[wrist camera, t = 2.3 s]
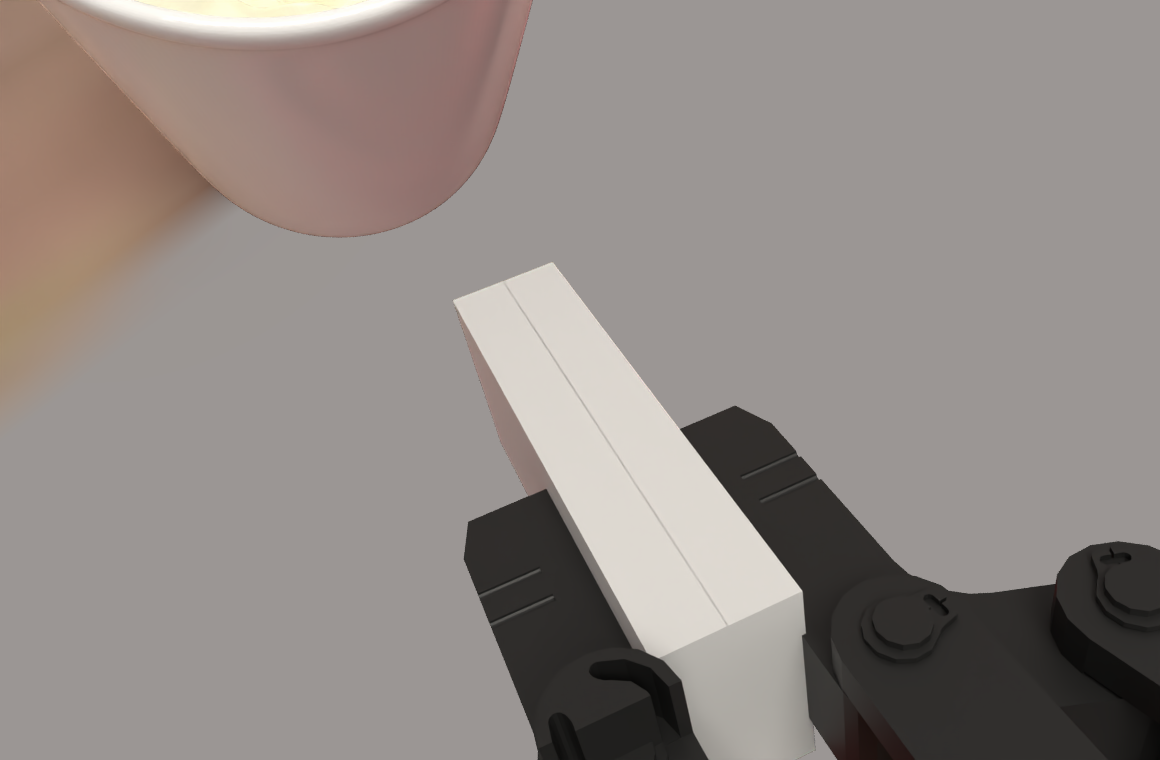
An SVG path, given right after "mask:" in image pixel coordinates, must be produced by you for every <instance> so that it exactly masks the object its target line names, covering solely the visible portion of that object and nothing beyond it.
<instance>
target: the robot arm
mask: <svg viewBox="0 0 1160 760" xmlns="http://www.w3.org/2000/svg"><path fill="white" fill-rule="evenodd" d="M453 303H454V306H455V309H456V312H457V314H458V318H459V321H460V323H461V326H462V329H463V332H464V335H465V338H466V341H467V344H468V347H469V350H470V353H471V356H472V359H473V362H474V365H475V368H476V371H477V373H478V377H479V379H480V383H481V386H482V388H483V391H484V394H485V397H486V400H487V403H488V406H489V409H490V412H491V415H492V418H493V420H494V424H495V427H496V430H497V433H498V436H499V439H500V442H501V444H502V446H503V448H504V450H505V452H506V454H507V456H508V458H509V460H510V461H511V464H512V465H513V467H514V469H515V471H516V473H517V475H518V477H519V479H520V481H521V483H522V485H523V487H524V489H525V491H526V493H527V495H528V497H526V498H523V499H521V500H518V501H516V502H514V503H511V504H509V505H507V506H504V507H502V508H500V509H498V510H495V511H493V512H490V513H488V514H486V515H483V516H481V517H479V518H476V519H474V520H472V521H469V522H468V529H467V537H466V545H465V553H464V561H465V563H466V566H467V568H468V571H469V573H470V576H471V578H472V581H473V583H474V586H475V588H476V591H477V593H478V596H479V598H480V601H481V603H482V605H483V608H484V611H485V613H486V616H487V618H488V621H489V623H490V626H491V628H492V630H493V633H494V635H495V638H496V641H497V643H498V646H499V648H500V650H501V653H502V656H503V658H504V660H505V663H506V665H507V668H508V670H509V673H510V675H511V678H512V680H513V683H514V685H515V688H516V690H517V693H518V695H519V698H520V700H521V703H522V705H523V708H524V710H525V713H526V715H527V718H528V720H529V723H530V725H531V728H532V730H533V733H534V737H535V741H536V745H537V749H538V760H797V759H799V758H801V757H803V756H805V755H807V754H809V753H811V752H813V751H815V738H814V726H815V727H816V729H817V730H818V732H819V733H820V735H821V736H822V737H823V739H824V740H825V742H826V744H827V745H828V746H829V748H830V749H831V751H832V752H833V754H834V755H835V757H836V758H837V760H1160V550H1158V549H1156V548H1153V547H1151V546H1148V545H1140V544H1133V543H1126V542H1119V541H1118V542H1110V543H1104V544H1096V545H1090V546H1088V547H1086V548H1085V549H1083V550H1081V551H1079V552H1077V553H1075V554H1073V555H1072V556H1070V557H1069V558H1068V559H1067V561H1066V562H1065V564H1064V566H1063V567H1062V568H1061V570H1060V571H1059V573H1058V574H1057V579H1056V584H1052V585H1045V586H1038V587H1030V588H1024V589H1016V590H1009V591H1002V592H995V593H978V594H967V593H959V592H952V591H948V590H946V589H945V588H944V587H943V586H941V585H939V584H936V583H933V582H930V581H927V580H925V579H922V578H919V577H916V576H912V575H910V574H908V573H907V572H906V571H905V570H904V569H902V568H901V567H900V566H899V565H898V564H897V563H896V562H894V561H893V560H892V559H891V557H890V556H889V555H888V554H887V553H886V552H885V551H884V549H883V548H882V547H881V546H880V545H879V544H878V543H877V542H876V540H875V539H874V538H873V537H872V536H871V535H870V534H869V533H868V531H867V530H866V529H865V528H864V527H863V526H862V525H861V524H860V522H859V521H858V520H857V519H856V518H855V517H854V516H853V515H852V514H851V512H850V511H849V510H848V509H847V508H846V507H845V506H844V505H843V503H842V502H841V501H840V500H839V499H838V498H837V497H836V495H835V494H834V493H833V492H832V491H831V490H830V489H829V488H828V486H827V485H826V484H825V483H824V482H823V481H822V480H821V479H820V480H819V479H818V478H817V476H816V473H815V472H814V471H813V470H812V468H811V467H810V466H809V465H808V464H807V463H806V462H805V461H804V459H803V458H802V457H798V455H797V453H796V450H795V449H794V448H793V447H792V446H791V445H790V444H789V443H788V441H787V440H786V439H785V438H784V437H783V436H782V435H781V434H780V433H779V431H778V430H777V429H776V428H775V427H774V426H773V425H772V424H771V423H770V422H768V421H765V420H763V419H761V418H759V417H757V416H755V415H753V414H751V413H749V412H747V411H745V410H743V409H741V408H739V407H737V406H733V407H731V408H729V409H726V410H724V411H721V412H719V413H717V414H715V415H712V416H710V417H707V418H705V419H703V420H701V421H698V422H696V423H693V424H691V425H689V426H686V427H684V428H681V429H679V428H678V427H677V425H676V424H675V423H674V421H673V420H672V419H671V417H670V416H669V415H668V413H667V412H666V411H665V409H664V408H663V407H662V405H661V404H660V403H659V401H657V399H656V398H655V396H654V395H653V394H652V392H651V391H650V390H649V388H648V387H647V386H646V384H645V383H644V382H643V380H642V379H641V378H640V376H639V375H638V374H637V373H636V371H635V370H634V369H633V367H632V366H631V365H630V363H629V362H628V361H627V359H626V358H625V357H624V355H623V354H622V353H621V351H620V350H619V349H618V347H617V346H616V345H615V344H614V342H613V341H612V340H611V338H610V337H609V336H608V334H607V333H606V332H605V330H604V329H603V328H602V327H601V325H600V324H599V323H598V321H597V320H596V318H595V317H594V316H593V315H592V313H591V312H590V311H589V309H588V308H587V307H586V305H585V304H584V303H583V301H582V300H581V299H580V297H579V296H578V295H577V293H576V292H575V291H574V290H573V288H572V287H571V286H570V284H569V283H568V282H567V280H566V279H565V278H564V276H563V275H562V274H561V272H560V271H559V270H558V268H557V267H556V266H555V264H554V263H553V262H552V263H549V264H546V265H544V266H541V267H538V268H536V269H533V270H531V271H528V272H525V273H523V274H520V275H518V276H515V277H513V278H510V279H508V280H505V281H502V282H499V283H497V284H494V285H492V286H489V287H486V288H484V289H481V290H479V291H476V292H473V293H471V294H468V295H466V296H463V297H460V298H458V299H455V300H453ZM813 724H814V726H813Z"/></svg>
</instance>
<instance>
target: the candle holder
mask: <svg viewBox="0 0 1160 760" xmlns="http://www.w3.org/2000/svg"><path fill="white" fill-rule="evenodd" d="M37 1H38V2H39V4H40V5H41V6H42V7H43V8H44V9H45V10H46V11H47V12H48V13H49V14H50V15H51V16H52V17H53V19H54V20H55V21H56V22H57V23H58V24H59V25H60V26H61V27H62V28H63V29H64V30H65V31H66V32H67V34H68V35H69V36H70V37H71V38H72V39H73V40H74V41H75V42H76V43H77V44H78V45H79V46H80V47H81V49H82V50H83V51H84V52H85V53H86V54H87V55H88V56H89V57H90V58H91V59H92V60H93V61H94V62H95V64H96V65H97V66H98V67H99V68H100V69H101V70H102V71H103V72H104V73H105V74H106V75H107V76H108V77H109V79H110V80H111V81H112V82H113V83H114V84H115V85H116V86H117V87H118V88H119V89H120V90H121V91H122V92H123V94H124V95H125V96H126V97H127V98H128V99H129V100H130V101H131V102H132V103H133V104H134V105H135V106H136V108H137V109H138V110H139V111H140V112H141V113H142V114H143V115H144V116H145V117H146V118H147V119H148V120H149V121H150V122H151V124H152V125H153V126H154V127H155V128H156V129H157V130H158V131H159V132H160V133H161V134H162V135H163V136H164V137H165V138H166V140H167V141H168V142H169V143H170V144H171V145H172V146H173V147H174V148H175V149H176V150H177V151H178V152H179V153H180V154H181V155H182V156H183V157H184V158H185V160H186V161H187V162H188V163H189V164H190V165H191V166H192V167H193V168H194V169H195V170H196V171H197V172H198V173H199V174H200V175H201V176H202V177H203V178H204V179H205V180H206V181H207V182H208V183H210V184H211V185H212V186H213V187H214V188H215V189H216V190H217V191H218V192H220V193H221V194H222V195H223V196H225V197H226V198H227V199H228V200H230V201H231V202H232V203H234V204H235V205H237V206H238V207H240V208H241V209H243V210H245V211H246V212H248V213H250V214H251V215H254V216H255V217H257V218H259V219H261V220H263V221H265V222H268V223H270V224H273V225H275V226H278V227H281V228H284V229H287V230H290V231H294V232H298V233H303V234H308V235H314V236H322V237H356V236H364V235H371V234H376V233H381V232H384V231H388V230H392V229H395V228H397V227H400V226H403V225H405V224H408V223H410V222H412V221H414V220H416V219H419V218H420V217H422V216H424V215H426V214H428V213H429V212H431V211H432V210H434V209H436V208H437V207H438V206H440V205H441V204H442V203H444V202H445V201H446V200H448V199H449V198H450V197H451V196H452V195H453V194H454V193H455V192H456V191H457V190H459V189H460V187H461V186H462V185H463V184H464V183H465V182H466V181H467V180H468V178H469V177H470V176H471V175H472V173H473V172H474V171H475V169H476V168H477V167H478V165H479V163H480V162H481V160H482V159H483V157H484V155H485V153H486V152H487V149H488V148H489V145H490V143H491V141H492V139H493V137H494V134H495V132H496V129H497V126H498V123H499V120H500V117H501V114H502V111H503V107H504V104H505V101H506V97H507V94H508V90H509V86H510V83H511V79H512V76H513V72H514V68H515V64H516V61H517V57H518V54H519V50H520V46H521V42H522V39H523V35H524V31H525V27H526V24H527V20H528V16H529V12H530V9H531V5H532V1H533V0H37Z"/></svg>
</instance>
